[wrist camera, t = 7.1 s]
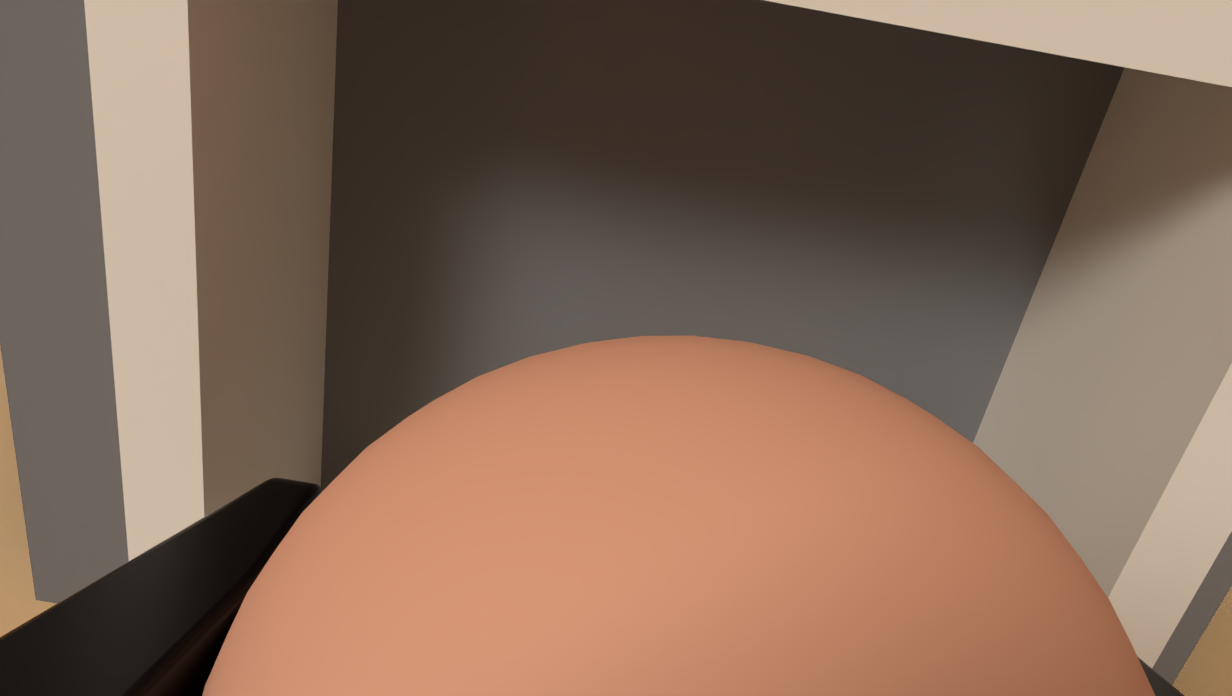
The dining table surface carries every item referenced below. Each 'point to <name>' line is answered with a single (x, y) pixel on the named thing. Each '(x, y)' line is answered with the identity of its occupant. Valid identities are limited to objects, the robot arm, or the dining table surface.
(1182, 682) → the dining table surface
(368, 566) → the terracotta ball
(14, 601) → the dining table surface
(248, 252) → the tray on grey plate
